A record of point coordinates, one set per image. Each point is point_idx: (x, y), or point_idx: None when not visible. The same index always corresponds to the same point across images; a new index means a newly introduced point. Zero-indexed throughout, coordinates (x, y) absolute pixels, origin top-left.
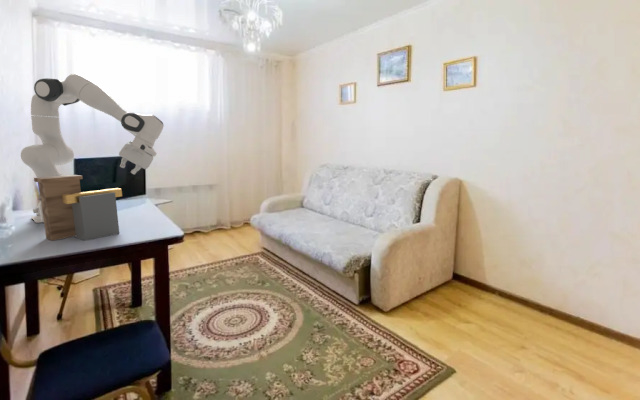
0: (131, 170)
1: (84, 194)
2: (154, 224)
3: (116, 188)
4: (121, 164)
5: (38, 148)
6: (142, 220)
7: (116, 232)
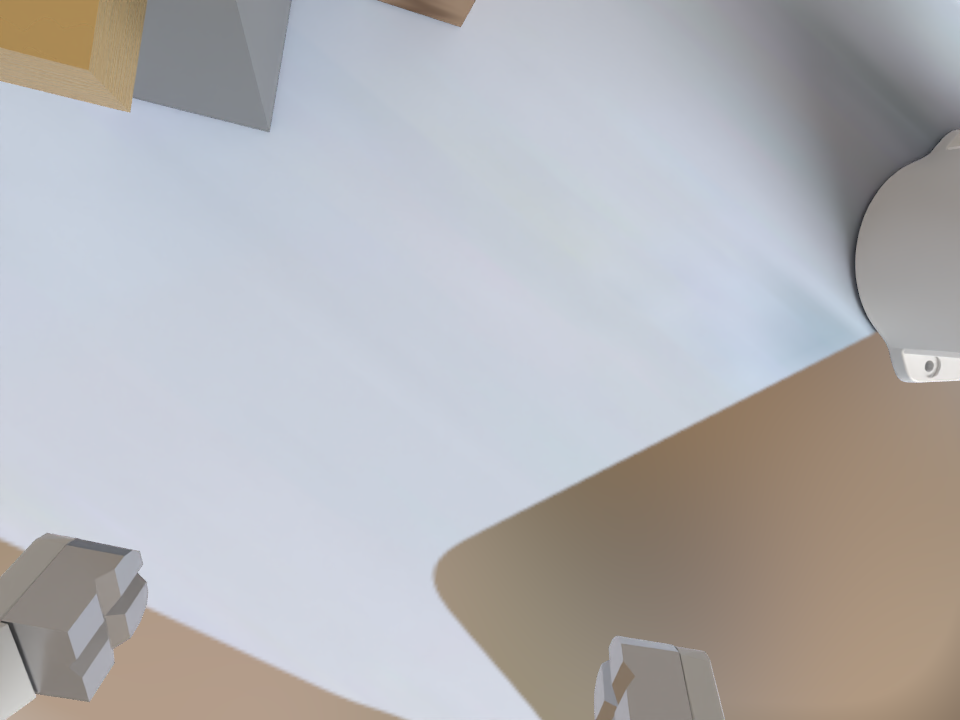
0: (88, 592)
1: None
2: (98, 446)
3: (45, 17)
4: (678, 708)
5: None
6: (340, 500)
7: None
